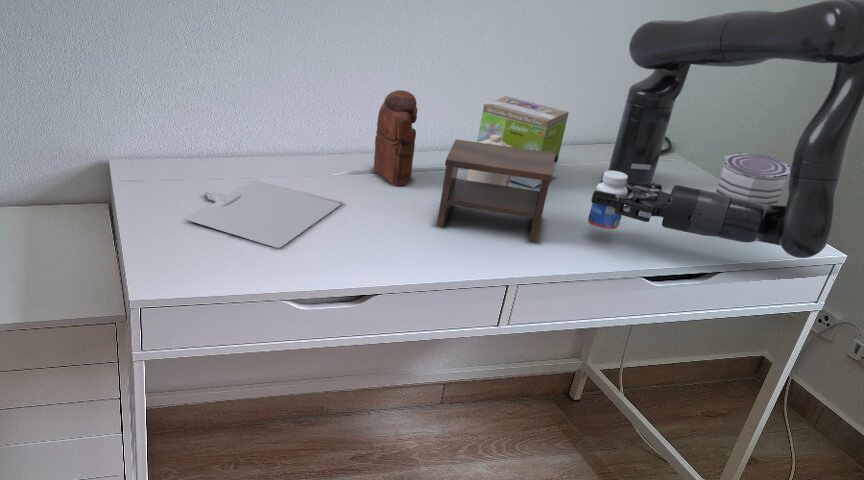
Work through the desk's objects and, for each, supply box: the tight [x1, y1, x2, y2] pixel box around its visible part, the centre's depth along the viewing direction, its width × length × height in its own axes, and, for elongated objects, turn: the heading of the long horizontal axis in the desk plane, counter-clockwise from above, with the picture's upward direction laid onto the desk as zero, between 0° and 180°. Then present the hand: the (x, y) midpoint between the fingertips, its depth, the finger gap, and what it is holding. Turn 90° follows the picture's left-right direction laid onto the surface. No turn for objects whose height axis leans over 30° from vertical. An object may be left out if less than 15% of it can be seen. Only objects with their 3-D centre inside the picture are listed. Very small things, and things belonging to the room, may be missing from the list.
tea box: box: [476, 95, 570, 189], centre depth 184 cm, size 15×10×15 cm
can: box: [714, 152, 791, 205], centre depth 167 cm, size 11×11×12 cm
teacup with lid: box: [465, 135, 512, 187], centre depth 176 cm, size 12×9×12 cm
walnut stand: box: [436, 138, 555, 243], centre depth 160 cm, size 13×18×13 cm
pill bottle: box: [587, 170, 628, 231], centre depth 156 cm, size 6×5×10 cm
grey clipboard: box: [186, 180, 341, 249], centre depth 163 cm, size 25×24×1 cm
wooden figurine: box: [373, 89, 418, 186], centre depth 179 cm, size 12×6×18 cm, turn 21°
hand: (596, 191), depth 156 cm, fingers closed on pill bottle, 5 cm apart
